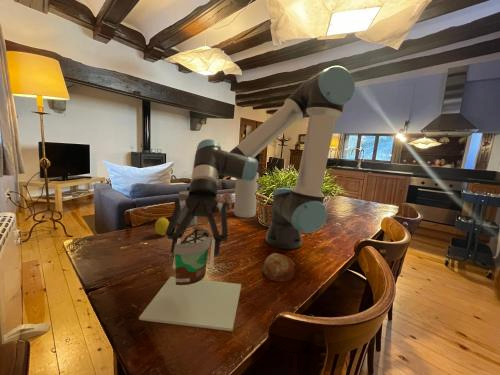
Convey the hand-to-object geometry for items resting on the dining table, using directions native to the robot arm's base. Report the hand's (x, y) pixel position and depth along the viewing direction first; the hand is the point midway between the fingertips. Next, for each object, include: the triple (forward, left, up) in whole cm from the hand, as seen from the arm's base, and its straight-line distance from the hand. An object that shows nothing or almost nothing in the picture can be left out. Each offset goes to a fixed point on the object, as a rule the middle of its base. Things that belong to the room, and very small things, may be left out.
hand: (193, 269), depth 50 cm
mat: (0, -4, -10) cm, 11 cm away
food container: (0, -4, -4) cm, 5 cm away
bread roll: (-21, -21, -11) cm, 31 cm away
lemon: (+26, -41, -11) cm, 49 cm away
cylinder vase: (-4, -82, -11) cm, 82 cm away
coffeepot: (+20, -58, -11) cm, 62 cm away
